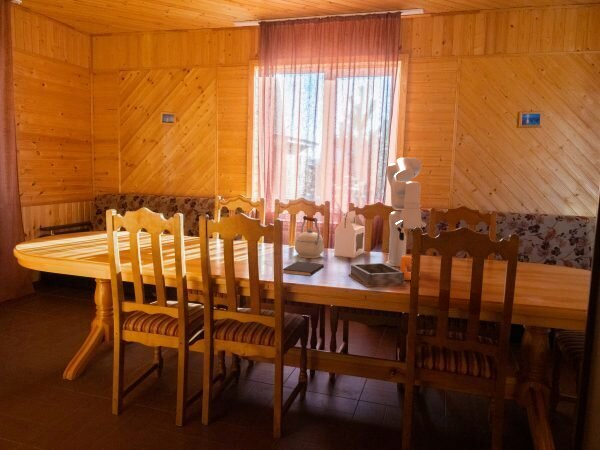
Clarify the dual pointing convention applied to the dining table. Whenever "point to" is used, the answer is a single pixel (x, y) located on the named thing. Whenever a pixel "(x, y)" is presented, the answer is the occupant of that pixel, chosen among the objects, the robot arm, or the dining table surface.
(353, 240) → the gable box
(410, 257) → the bracket
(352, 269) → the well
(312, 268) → the hardcover book
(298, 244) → the kettle
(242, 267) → the dining table surface
